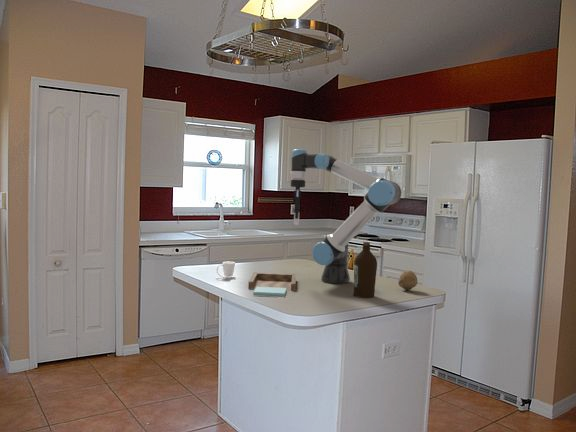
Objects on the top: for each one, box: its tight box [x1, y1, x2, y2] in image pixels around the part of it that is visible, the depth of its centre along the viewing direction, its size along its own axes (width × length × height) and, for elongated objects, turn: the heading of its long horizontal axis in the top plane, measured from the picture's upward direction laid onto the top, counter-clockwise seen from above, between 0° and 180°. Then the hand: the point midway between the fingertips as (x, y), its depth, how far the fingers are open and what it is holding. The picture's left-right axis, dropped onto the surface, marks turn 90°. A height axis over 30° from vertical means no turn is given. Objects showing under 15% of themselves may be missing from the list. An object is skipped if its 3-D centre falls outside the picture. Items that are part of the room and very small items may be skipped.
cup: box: [216, 260, 236, 279], centre depth 271 cm, size 7×10×8 cm
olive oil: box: [353, 241, 378, 299], centre depth 239 cm, size 11×11×25 cm
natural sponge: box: [397, 270, 419, 291], centre depth 256 cm, size 9×9×10 cm
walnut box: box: [247, 272, 297, 292], centre depth 254 cm, size 22×25×4 cm
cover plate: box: [252, 287, 287, 299], centre depth 235 cm, size 14×12×2 cm
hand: (296, 224), depth 269 cm, fingers closed
